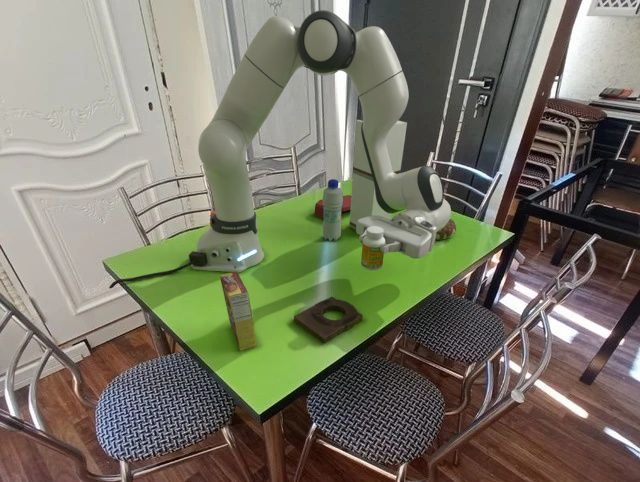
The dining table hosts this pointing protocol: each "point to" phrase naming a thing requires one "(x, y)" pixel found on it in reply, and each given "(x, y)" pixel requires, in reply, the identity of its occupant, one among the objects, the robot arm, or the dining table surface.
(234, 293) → the candy box
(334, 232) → the bottle
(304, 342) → the dining table surface
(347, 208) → the carton
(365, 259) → the supplement bottle
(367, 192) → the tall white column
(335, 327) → the holder
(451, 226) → the donut
